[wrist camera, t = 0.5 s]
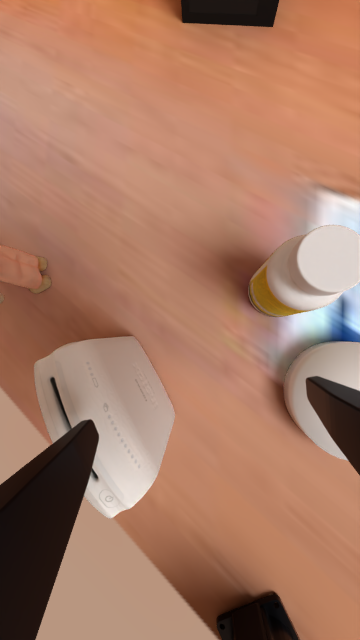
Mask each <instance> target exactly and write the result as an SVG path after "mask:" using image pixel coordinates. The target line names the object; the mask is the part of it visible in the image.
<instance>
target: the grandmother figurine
mask: <svg viewBox="0 0 360 640" xmlns="http://www.w3.org/2000/svg"><path fill="white" fill-rule="evenodd" d="M46 268H47V260H46V259H45V258H42V257H37V256H33V255H30V254H28V253H26V252H23V251H20V250H18V249H14V248H10V247H7V246H3V245H0V281H1V282H6V283H10V284H13V285H17V286H21V287H26V288H28V289H29V290H30V291H31V292H32V293H35V294H37V293H40V292H42V291H44V290H46V289H48V288H49V287H50V286H51V279H50V277H49V276H47V275H41V274H40V271H44V270H45V269H46ZM4 299H5V297H4V295H3V294H2V293H0V303H2V302H3V301H4Z"/></svg>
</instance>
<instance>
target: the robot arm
mask: <svg viewBox="0 0 360 640" xmlns="http://www.w3.org/2000/svg"><path fill="white" fill-rule="evenodd" d="M306 392H307V398H308V401H309V402H310V404H311V406H312V407H313V409H314V411H315V412H316V414H317V415H318V417H319V419H320V420H321V422H322V424H323V425H324V427H325V428H326V430H327V432H328V433H329V435H330V436H331V438H332V439H333V441H334V442H335V443H336V445H337V446H338V447H339V449H340V450H341V451H342V453H343V454H344V455H345V457H346V458H347V459H348V461H349V462H350V463H351V465H352V466H353V467H354V469H355V470H356V471H357V472H358V474H359V475H360V391H359V390H356V389H353V388H350V387H348V386H345V385H342V384H339V383H336V382H333V381H331V380H328V379H325V378H322V377H319V376H312V377H307V378H306ZM98 442H99V434H98V431H97V429H96V426H95V424H94V422H93V420H91V419H88V420H83V421H81V422H80V423H78V424H77V425H76V426H75V427H73V428H72V429H71V430H69V431H68V432H67V433H66V434H64V435H63V436H62V437H61V438H59V439H58V440H57V441H55V442H54V443H53V444H52V445H50V446H49V447H48V448H47V449H46V450H44V451H43V452H42V453H40V454H39V455H38V456H37V457H35V458H34V459H33V460H31V461H30V462H29V463H28V464H26V465H25V466H24V467H22V468H21V469H20V470H19V471H17V472H16V473H15V474H14V475H12V476H11V477H10V478H9V479H7V480H6V481H5V482H3V483H2V484H1V485H0V640H35V639H36V636H37V633H38V630H39V627H40V624H41V621H42V618H43V615H44V612H45V610H46V607H47V604H48V601H49V597H50V594H51V592H52V589H53V586H54V583H55V580H56V577H57V574H58V571H59V568H60V565H61V562H62V559H63V556H64V553H65V550H66V547H67V544H68V541H69V538H70V535H71V532H72V529H73V526H74V523H75V520H76V517H77V514H78V511H79V508H80V506H81V502H82V500H83V497H84V494H85V491H86V488H87V485H88V482H89V478H90V475H91V471H92V467H93V463H94V458H95V454H96V450H97V446H98ZM275 602H277V603H275ZM217 629H218V631H219V633H220V635H221V638H222V640H300V639H299V637H298V634H297V632H296V630H295V628H294V626H293V624H292V622H291V620H290V618H289V616H288V614H287V612H286V610H285V607H284V605H283V603H282V601H281V599H280V597H279V596H278V595H276V594H273V595H270V596H267V597H265V598H262V599H260V600H257V601H255V602H252V603H250V604H247V605H245V606H242V607H240V608H237V609H235V610H232V611H230V612H227V613H225V614H222V615H220V616H218V617H217Z"/></svg>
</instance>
